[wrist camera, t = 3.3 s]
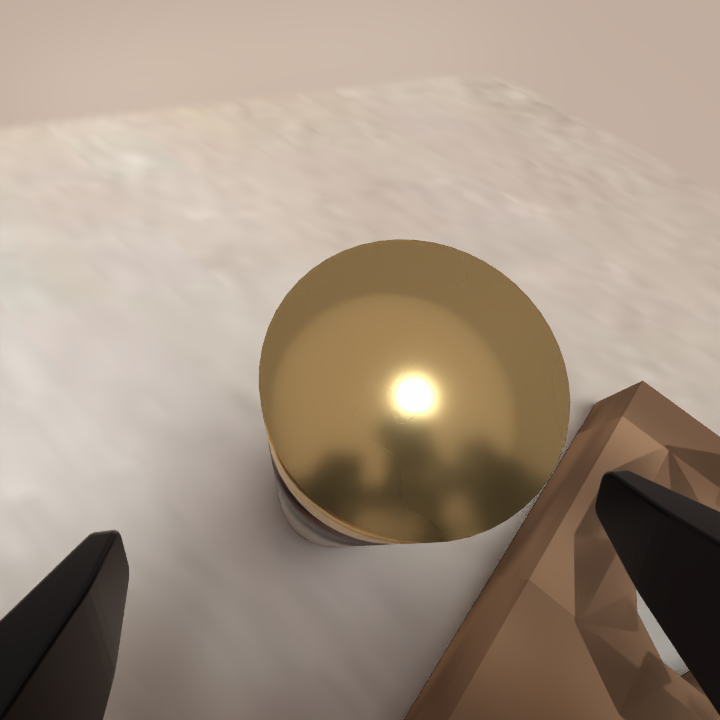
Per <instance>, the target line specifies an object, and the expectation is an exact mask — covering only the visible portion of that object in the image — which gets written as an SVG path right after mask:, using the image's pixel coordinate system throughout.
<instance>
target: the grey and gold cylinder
mask: <svg viewBox="0 0 720 720" xmlns="http://www.w3.org/2000/svg"><path fill="white" fill-rule="evenodd" d="M259 391H260V398H261V406H262V412H263V417H264V422H265V427H266V433H267V438H268V443H269V448H270V453H271V458H272V464H273V469H274V474H275V479H276V484H277V489H278V494H279V500H280V504H281V508H282V511H283V513H284V515H285V517H286V519H287V521H288V523H289V524H290V525H291V526H292V528H293V529H294V530H295V531H296V532H297V533H298V534H299V535H301V536H302V537H303V538H305V539H307V540H308V541H310V542H312V543H315V544H318V545H322V546H328V547H342V546H365V545H388V544H411V543H432V542H448V541H453V540H458V539H462V538H467V537H471V536H474V535H476V534H479V533H482V532H484V531H487V530H490V529H492V528H493V527H495V526H497V525H499V524H501V523H502V522H504V521H506V520H508V519H509V518H511V517H512V516H513V515H515V514H516V513H517V512H518V511H520V510H521V509H522V508H524V507H525V506H526V505H527V504H528V503H529V502H530V501H531V500H532V499H533V498H534V497H535V495H536V494H537V493H538V492H539V491H540V490H541V488H542V487H543V485H544V484H545V483H546V481H547V480H548V478H549V477H550V475H551V473H552V471H553V469H554V468H555V466H556V464H557V462H558V460H559V457H560V454H561V452H562V449H563V446H564V443H565V440H566V434H567V429H568V424H569V413H570V394H569V382H568V377H567V372H566V367H565V363H564V360H563V357H562V354H561V351H560V348H559V345H558V343H557V341H556V339H555V337H554V335H553V333H552V331H551V329H550V327H549V325H548V324H547V322H546V320H545V319H544V317H543V316H542V314H541V312H540V311H539V310H538V309H537V307H536V306H535V305H534V304H533V302H532V301H531V300H530V299H529V297H528V296H527V295H526V294H525V293H524V292H523V291H522V290H521V289H520V288H519V287H518V286H517V285H516V284H515V283H513V282H512V281H511V280H510V279H509V278H507V277H506V276H505V275H504V274H502V273H501V272H500V271H498V270H497V269H495V268H494V267H492V266H490V265H489V264H487V263H486V262H484V261H482V260H480V259H478V258H476V257H474V256H472V255H470V254H468V253H465V252H463V251H460V250H457V249H455V248H452V247H449V246H445V245H441V244H437V243H433V242H426V241H419V240H386V241H377V242H372V243H368V244H363V245H359V246H356V247H353V248H351V249H348V250H345V251H342V252H340V253H338V254H336V255H334V256H332V257H330V258H328V259H327V260H325V261H324V262H322V263H321V264H319V265H318V266H316V267H315V268H313V269H312V270H311V271H309V272H308V273H307V274H306V275H305V276H304V277H303V278H301V279H300V280H299V281H298V282H297V283H296V285H295V286H294V287H293V288H292V289H291V290H290V291H289V293H288V294H287V295H286V296H285V298H284V300H283V301H282V303H281V304H280V306H279V307H278V309H277V310H276V312H275V314H274V317H273V319H272V321H271V323H270V325H269V327H268V330H267V333H266V337H265V340H264V343H263V347H262V353H261V359H260V366H259Z"/></svg>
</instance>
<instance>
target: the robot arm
mask: <svg viewBox="0 0 720 720" xmlns="http://www.w3.org/2000/svg"><path fill="white" fill-rule="evenodd" d="M595 511H596V515H597V517H598V519H599V521H600V523H601V525H602V527H603V528H604V530H605V532H606V534H607V536H608V538H609V540H610V542H611V544H612V545H613V547H614V549H615V551H616V553H617V555H618V557H619V559H620V560H621V562H622V564H623V566H624V568H625V570H626V572H627V574H628V575H629V577H630V579H631V581H632V582H633V584H634V586H635V588H636V589H637V591H638V592H639V594H640V596H641V597H642V599H643V600H644V602H645V603H646V605H647V606H648V608H649V609H650V611H651V612H652V614H653V616H654V617H655V619H656V620H657V622H658V623H659V625H660V626H661V628H662V629H663V631H664V632H665V634H666V635H667V637H668V638H669V640H670V641H671V643H672V644H673V646H674V647H675V649H676V650H677V652H678V654H679V655H680V657H681V658H682V660H683V661H684V663H685V664H686V666H687V667H688V669H689V670H690V672H691V673H692V675H693V676H694V678H695V679H696V681H697V682H698V684H699V685H700V687H701V688H702V690H703V692H704V693H705V695H706V696H707V698H708V699H709V701H710V702H711V704H712V705H713V707H714V708H715V710H716V711H717V713H718V714H719V716H720V512H719V511H717V510H715V509H713V508H710V507H708V506H706V505H704V504H702V503H699V502H697V501H695V500H693V499H691V498H688V497H686V496H684V495H682V494H680V493H677V492H675V491H673V490H671V489H669V488H666V487H664V486H662V485H660V484H657V483H655V482H653V481H651V480H649V479H646V478H644V477H642V476H640V475H638V474H635V473H633V472H631V471H629V470H625V469H621V470H612V471H607V472H605V473H604V474H603V476H602V478H601V482H600V486H599V489H598V493H597V497H596V501H595ZM128 581H129V566H128V561H127V557H126V553H125V550H124V546H123V542H122V538H121V535H120V533H119V532H118V531H116V530H110V531H101V532H95V533H92V534H90V535H89V536H88V537H86V538H85V539H84V540H83V541H82V542H81V543H80V544H79V545H78V546H77V547H76V548H75V549H74V550H73V551H72V552H71V553H70V554H69V555H68V556H67V557H66V558H65V559H64V560H63V561H62V562H61V563H60V564H58V565H57V566H56V567H55V568H54V569H53V570H52V571H51V572H50V573H49V574H48V575H47V576H46V577H45V578H44V579H43V580H42V581H41V582H40V583H39V584H38V585H37V586H36V587H35V588H34V589H33V590H32V591H30V592H29V593H28V594H27V595H26V596H25V597H24V598H23V599H22V600H21V601H20V602H19V603H18V604H17V605H16V606H15V607H14V608H13V609H12V610H11V611H10V612H9V613H8V614H7V615H6V616H5V617H4V618H3V619H1V620H0V720H103V717H104V713H105V710H106V706H107V702H108V698H109V694H110V690H111V686H112V682H113V678H114V674H115V668H116V662H117V656H118V650H119V643H120V636H121V629H122V622H123V616H124V609H125V602H126V595H127V588H128Z"/></svg>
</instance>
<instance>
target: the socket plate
mask: <svg viewBox="0 0 720 720" xmlns="http://www.w3.org/2000/svg"><path fill="white" fill-rule="evenodd" d="M621 469H625V470H629V471H631V472H633V473H635V474H638V475H640V476H642V477H644V478H646V479H649V480H651V481H653V482H655V483H657V484H660V485H662V486H664V487H666V488H669V489H671V490H673V491H675V492H677V493H680V494H682V495H684V496H686V497H688V498H691V499H693V500H695V501H697V502H699V503H702V504H704V505H706V506H708V507H710V508H713V509H715V510H717V511H719V512H720V437H719V436H718V435H717V434H715V433H714V432H712V431H711V430H710V429H708V428H707V427H706V426H704V425H703V424H701V423H700V422H699V421H697V420H696V419H695V418H693V417H692V416H690V415H689V414H688V413H686V412H685V411H684V410H682V409H681V408H679V407H678V406H677V405H675V404H674V403H673V402H671V401H670V400H669V399H667V398H666V397H664V396H663V395H662V394H660V393H659V392H658V391H656V390H655V389H653V388H652V387H651V386H649V385H648V384H647V383H645V382H644V381H641V382H639V383H637V384H635V385H633V386H631V387H629V388H626V389H624V390H622V391H620V392H618V393H616V394H614V395H612V396H610V397H608V398H605V399H603V400H601V401H599V402H597V403H596V404H595V405H594V407H593V409H592V410H591V412H590V414H589V415H588V417H587V419H586V420H585V422H584V424H583V425H582V427H581V429H580V430H579V432H578V434H577V435H576V437H575V438H574V440H573V442H572V443H571V445H570V447H569V448H568V450H567V452H566V453H565V455H564V457H563V458H562V460H561V462H560V463H559V465H558V467H557V468H556V470H555V472H554V473H553V475H552V476H551V478H550V480H549V481H548V483H547V485H546V486H545V488H544V490H543V491H542V493H541V495H540V496H539V498H538V500H537V501H536V503H535V505H534V506H533V508H532V510H531V511H530V513H529V515H528V516H527V518H526V519H525V521H524V523H523V524H522V526H521V528H520V529H519V531H518V533H517V534H516V536H515V538H514V539H513V541H512V543H511V544H510V546H509V548H508V549H507V551H506V553H505V554H504V556H503V557H502V559H501V561H500V562H499V564H498V566H497V567H496V569H495V571H494V572H493V574H492V576H491V577H490V579H489V581H488V582H487V584H486V586H485V587H484V589H483V591H482V592H481V594H480V596H479V597H478V599H477V600H476V602H475V604H474V605H473V607H472V609H471V610H470V612H469V614H468V615H467V617H466V619H465V620H464V622H463V624H462V625H461V627H460V629H459V630H458V632H457V634H456V635H455V637H454V638H453V640H452V642H451V643H450V645H449V647H448V648H447V650H446V652H445V653H444V655H443V657H442V658H441V660H440V662H439V663H438V665H437V667H436V668H435V670H434V672H433V673H432V675H431V677H430V678H429V680H428V681H427V683H426V685H425V686H424V688H423V690H422V691H421V693H420V695H419V696H418V698H417V700H416V701H415V703H414V705H413V706H412V708H411V710H410V711H409V713H408V715H407V716H406V718H405V719H404V720H720V716H719V714H718V713H717V711H716V710H715V708H714V707H713V705H712V704H711V702H710V701H709V699H708V698H707V696H706V695H705V693H704V692H703V690H702V688H701V687H700V685H699V684H698V682H697V681H696V679H695V678H694V676H693V675H692V673H691V672H690V671H689V672H688V673H686V674H684V675H683V676H679V675H678V674H677V673H676V672H674V671H673V670H672V669H671V668H669V667H668V666H667V665H666V664H664V663H663V662H662V660H661V658H660V656H659V654H658V652H657V650H656V648H655V646H654V644H653V642H652V640H651V638H650V636H649V634H648V632H647V630H646V628H645V626H644V624H643V622H642V621H641V619H640V617H639V615H638V613H637V598H636V588H635V586H634V584H633V582H632V581H631V579H630V577H629V575H628V574H627V572H626V570H625V568H624V566H623V564H622V562H621V560H620V559H619V557H618V555H617V553H616V551H615V549H614V547H613V545H612V544H611V542H610V540H609V538H608V536H607V534H606V532H605V530H604V528H603V527H602V525H601V523H600V521H599V519H598V517H597V515H596V511H595V501H596V497H597V493H598V489H599V486H600V482H601V478H602V476H603V474H604V473H605V472H607V471H612V470H621Z"/></svg>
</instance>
